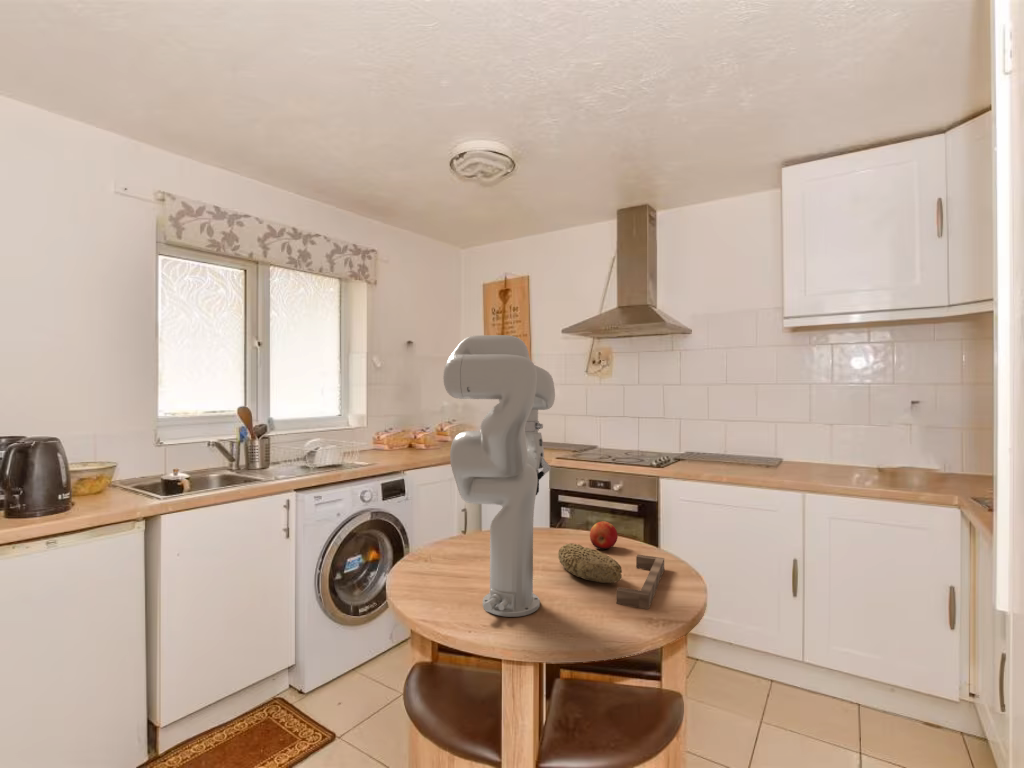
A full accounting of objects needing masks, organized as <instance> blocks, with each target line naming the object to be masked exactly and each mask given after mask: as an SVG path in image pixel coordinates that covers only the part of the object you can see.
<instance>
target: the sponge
mask: <svg viewBox="0 0 1024 768" xmlns="http://www.w3.org/2000/svg"><path fill="white" fill-rule="evenodd" d="M557 553H558V560H559V563H560V564H561V566H563V567H564V568H565V570H566V571H568V572H569V573H571V574H572V575H574V576H576V577H577V578H582V579H583V580H587V581H589V582H593V583H601V584H614V583H616V582H617V583H618V582H619V581H621V580H622V577H623V576H622V573H623V572H622V571H623V570H622V566H621V565H620V564H619V562H618V561H617V560H616V559H614V558H612V556H609V555H608V554H605V553H604V552H602V551H599V549H598V550H597V549H594V548H590V547H585V546H582V544H576V543H566V544H564V545H562V546H561V547H560V548H559V550H558V552H557Z"/></svg>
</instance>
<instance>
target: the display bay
mask: <svg viewBox="0 0 1024 768" xmlns="http://www.w3.org/2000/svg"><path fill="white" fill-rule="evenodd" d="M635 559H636V560H635V563H636V565H635V567H637V568H636V569H640V568H644V569H643V570H647V569H650V570H649V572H648V574H647V577H646V578H645V580H644V583H643V585H642V587H641V589H640V590H639V589H633V588H627V587H621V586H618V587H617V588H616V591H615V592H616V593H615V594H616V598H615V599H616V605H623V606H627V607H635V608H639V609H645V610H649V609H650V606H651V604H652V602H653V599H654V597H655V594H656V592H657V589H658V587H657V586H659V584H660V582H661V579H660V578H662V576H663V574H662V573H664V572H665V557H660V556H659V557H658V556H653V555H652V556H650V555H645V554H637V555H636V556H635ZM659 581H660V582H659ZM658 583H659V584H658ZM655 591H656V592H655Z"/></svg>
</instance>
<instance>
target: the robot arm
mask: <svg viewBox="0 0 1024 768" xmlns="http://www.w3.org/2000/svg"><path fill="white" fill-rule="evenodd" d="M528 349H529V348H528V346H527V345H526V343H525V342H524V340H522V339H521V338H519V337H518V336H514V335H507V334H506V335H505V334H503V335H502V334H501V335H499V334H498V335H497V334H496V335H495V334H494V335H491V334H490V335H489V334H488V335H483V334H482V335H470V336H468V337H465V338H463V340H461V341H460V342H459V344H458V345H457V346H456V347H455V348H454V350H453V351H452V352H451V354H450V356H449V357H448V359H447V360H446V363H445V365H444V369H443V375H442V376H443V378H442V379H443V386H444V389H445V391H446V393H448V395H449V396H451V397H452V398H454V399H459V400H498V403H497V404H496V405H494V406H493V407H492V408H491V409H490V410H489V411H488V412H487V414H486V415H485V416H484V418H483V419H482V421H481V424H480V430H466V431H461V432H460V433H458V434H456V436H454V438H453V440H452V442H451V446H450V451H449V459H450V467H451V471H452V473H453V478H454V481H455V484H456V487H457V491H458V493H459V495H460V498H461V499H462V500H463V501H464V502H465V503H468V504H473V505H475V504H476V505H496V506H501V509H500V510H499V511H498V512H497V514H496V515H494V517H493V519H492V521H491V524H490V528H489V592H488V593H487V594H486V595H485V596H483V598H482V607H483V610H484V611H486V613H490V614H493V615H495V616H499V617H507V618H508V617H509V618H512V617H514V618H515V617H517V618H518V617H524V616H525V617H526V616H528V615H531V614H533V613H535V612H536V611H537V610H538V609H539V608H540V605H541V604H540V603H541V601H540V597H539V596H538V595H536V593H534V591H533V589H534V514H535V502H536V496H537V495H538V494H539V492H540V480H541V479H542V478H543V477H544V476H545V475H546V474H547V473H548V472H549V471H551V469H552V467H551V466H550V465H549V464H548V462H547V461H546V460H545V451H544V449H545V448H544V441H543V435H542V432H539V431H540V430H541V429H543V427H544V424H543V423H540V421H539V411H546V410H547V411H548V410H550V409H551V408H552V407H553V406H554V403H555V400H556V391H555V382H554V379H553V376H552V374H550V372H549V371H548V370H546V369H544V368H542V367H539V366H537V365H536V364H535V363H534V362H533V361H532V360H531V357H530V354H529V350H528ZM539 469H542V470H539Z"/></svg>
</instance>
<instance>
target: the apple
mask: <svg viewBox="0 0 1024 768" xmlns="http://www.w3.org/2000/svg"><path fill="white" fill-rule="evenodd" d="M618 538H619V536H618V532H617V528H616V527H615V526H614V525H613V524H612V523H610V522H608V521H606V520H604V521H603V520H602V521H598V522H596V523H594V525H592V526H591V528H590V532H589V540H590V542H591V544H592V545H593V547H594V548H596V549H598V550H602V551H603V550H606V549H611V548H612V547H613V546H614V545H616V543H617V542H618Z"/></svg>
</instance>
